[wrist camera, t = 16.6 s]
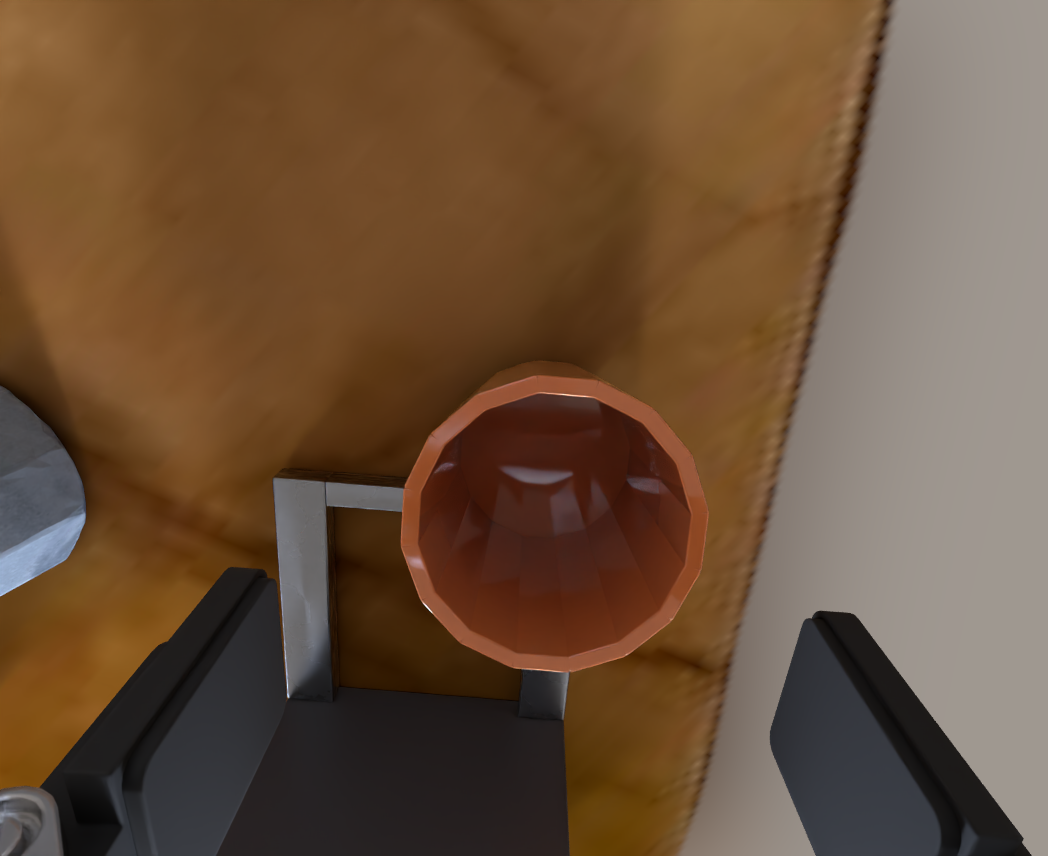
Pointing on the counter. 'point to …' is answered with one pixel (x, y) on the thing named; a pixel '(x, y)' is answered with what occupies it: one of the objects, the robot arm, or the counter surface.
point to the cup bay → (313, 584)
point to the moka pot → (34, 496)
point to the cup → (553, 520)
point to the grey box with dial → (406, 780)
